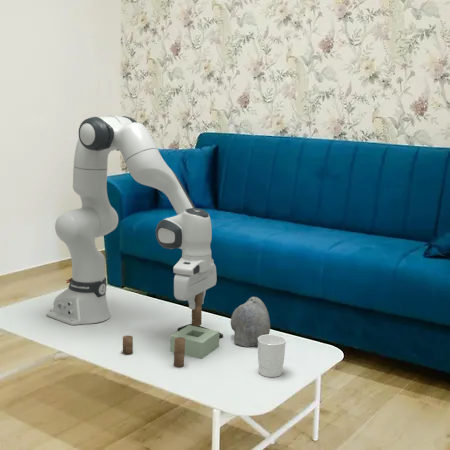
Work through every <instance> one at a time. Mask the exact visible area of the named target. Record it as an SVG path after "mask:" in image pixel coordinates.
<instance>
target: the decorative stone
mask: <svg viewBox="0 0 450 450" xmlns="http://www.w3.org/2000/svg"><path fill="white" fill-rule="evenodd" d="M230 327H231V329H232V331H233V332H234V343H235V344H236V345H238V346H240V347H243V348H244V347H245V348H249V347H252V346H258V337H260V336H262V335H267V334H270V332H271V320H270V314H269V311H268V308H267V306H266V304H265V303H264V301H262V299H260V298H259V297H257V296H251V297H250V298H248V299H247V301H245V303H243V304H240V305H239V306H238V307H236V308H235V309H234V311H233V312H232V315H231V317H230Z"/></svg>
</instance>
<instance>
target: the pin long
mask: <svg viewBox="0 0 450 450" xmlns="http://www.w3.org/2000/svg"><path fill="white" fill-rule="evenodd" d="M194 300H195V303H197V305H196V306H197V307H196V308H195V309H191V324H192V325H193V326H202V319H203V318H202V317H203V316H202V305H203V304H202V292H201V293H199V294H197V295H195V299H194Z"/></svg>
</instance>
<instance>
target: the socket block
mask: <svg viewBox="0 0 450 450" xmlns="http://www.w3.org/2000/svg"><path fill="white" fill-rule="evenodd" d="M187 325H188V326H186V325H185V326H186V327H185V328H183V329H181V330H180V331H177V332H175V333H173V334H171V335H170V352H172V353H174V345H175V338H177V337H182V338H185V354H184V356H187V357H188V356H189V357H194V358H197V359H204V358H205V357H206V356H207V355H209V354H210V353H212V352H214V351H215V350H216V349H218V348H219V347H220V339H219V333H220V331H219V330H215V329H209V328H208V329H206V328H207V327H205V328H201V327H196V326H191V325H189V324H187Z"/></svg>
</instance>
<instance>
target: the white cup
mask: <svg viewBox="0 0 450 450" xmlns="http://www.w3.org/2000/svg"><path fill="white" fill-rule="evenodd" d="M286 342H287V339H286V338H285V337H284V336H282V335H278V334H270V333H269V334H267V335H262V336H260V337H258V345H257V362H258V374H260V375H261V376H263V377H266V378H278V377H279V376H282V374H283V368H284V362H285V353H286V344H287V343H286Z"/></svg>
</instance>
